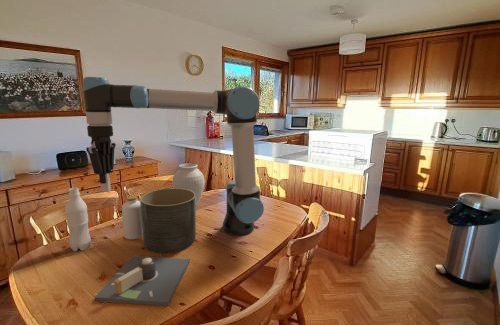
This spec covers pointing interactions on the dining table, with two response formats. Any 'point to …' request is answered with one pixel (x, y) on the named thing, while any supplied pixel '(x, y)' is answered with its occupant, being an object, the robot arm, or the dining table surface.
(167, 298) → the dial board
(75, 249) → the water bottle
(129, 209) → the potion bottle
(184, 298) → the dining table surface
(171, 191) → the planter
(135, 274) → the peg lever
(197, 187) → the vase
